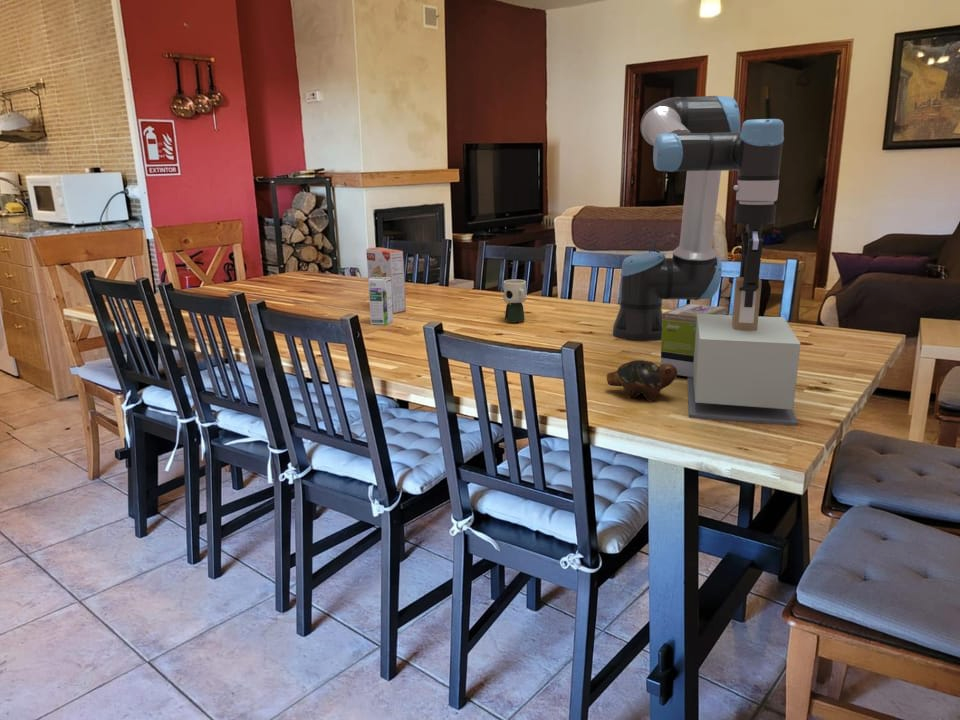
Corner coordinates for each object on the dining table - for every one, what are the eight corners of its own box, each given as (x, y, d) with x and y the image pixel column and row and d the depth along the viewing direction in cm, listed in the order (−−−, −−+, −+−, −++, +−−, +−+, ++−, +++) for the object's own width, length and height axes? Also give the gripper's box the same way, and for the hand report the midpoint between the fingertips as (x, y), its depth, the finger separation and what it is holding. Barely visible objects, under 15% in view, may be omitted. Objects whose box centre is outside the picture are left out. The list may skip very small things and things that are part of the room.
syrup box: (370, 324, 220) (367, 279, 216) (377, 320, 226) (374, 276, 222) (387, 325, 219) (384, 279, 215) (393, 321, 224) (391, 276, 220)
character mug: (496, 319, 224) (496, 279, 220) (516, 317, 227) (516, 277, 223) (513, 326, 215) (512, 284, 211) (533, 324, 218) (533, 282, 214)
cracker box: (368, 308, 244) (365, 248, 239) (383, 305, 248) (379, 246, 242) (392, 314, 234) (389, 251, 229) (406, 311, 238) (403, 250, 232)
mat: (687, 379, 162) (687, 377, 161) (780, 385, 156) (780, 383, 156) (688, 417, 139) (689, 414, 138) (797, 425, 133) (798, 422, 133)
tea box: (684, 360, 177) (688, 302, 173) (723, 366, 171) (728, 306, 167) (658, 372, 166) (661, 310, 162) (699, 379, 159) (704, 315, 156)
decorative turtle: (675, 406, 145) (674, 369, 142) (602, 402, 150) (601, 367, 148) (680, 389, 153) (680, 355, 151) (611, 387, 159) (610, 353, 157)
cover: (692, 369, 160) (700, 269, 153) (777, 374, 155) (788, 271, 149) (694, 402, 138) (703, 287, 132) (793, 409, 134) (806, 290, 127)
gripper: (732, 200, 145) (723, 310, 152) (738, 205, 129) (728, 328, 135) (770, 200, 143) (759, 311, 150) (782, 205, 127) (769, 330, 134)
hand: (744, 319), depth 143 cm, fingers closed on cover, 4 cm apart
